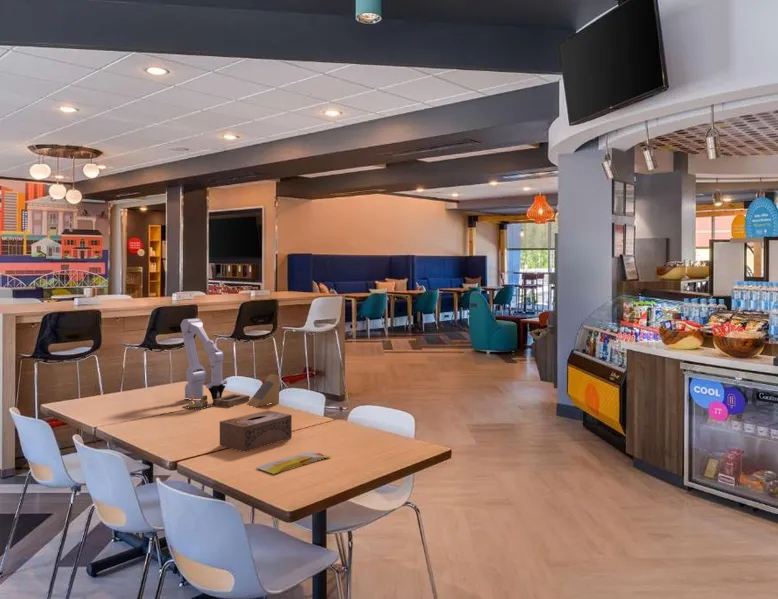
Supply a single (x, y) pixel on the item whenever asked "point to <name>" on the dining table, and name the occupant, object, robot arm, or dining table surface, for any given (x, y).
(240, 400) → the slot block
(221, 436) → the tissue box cover
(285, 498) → the dining table surface
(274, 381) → the sandwich container
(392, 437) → the dining table surface
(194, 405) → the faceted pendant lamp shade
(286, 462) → the food package
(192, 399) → the nut base
